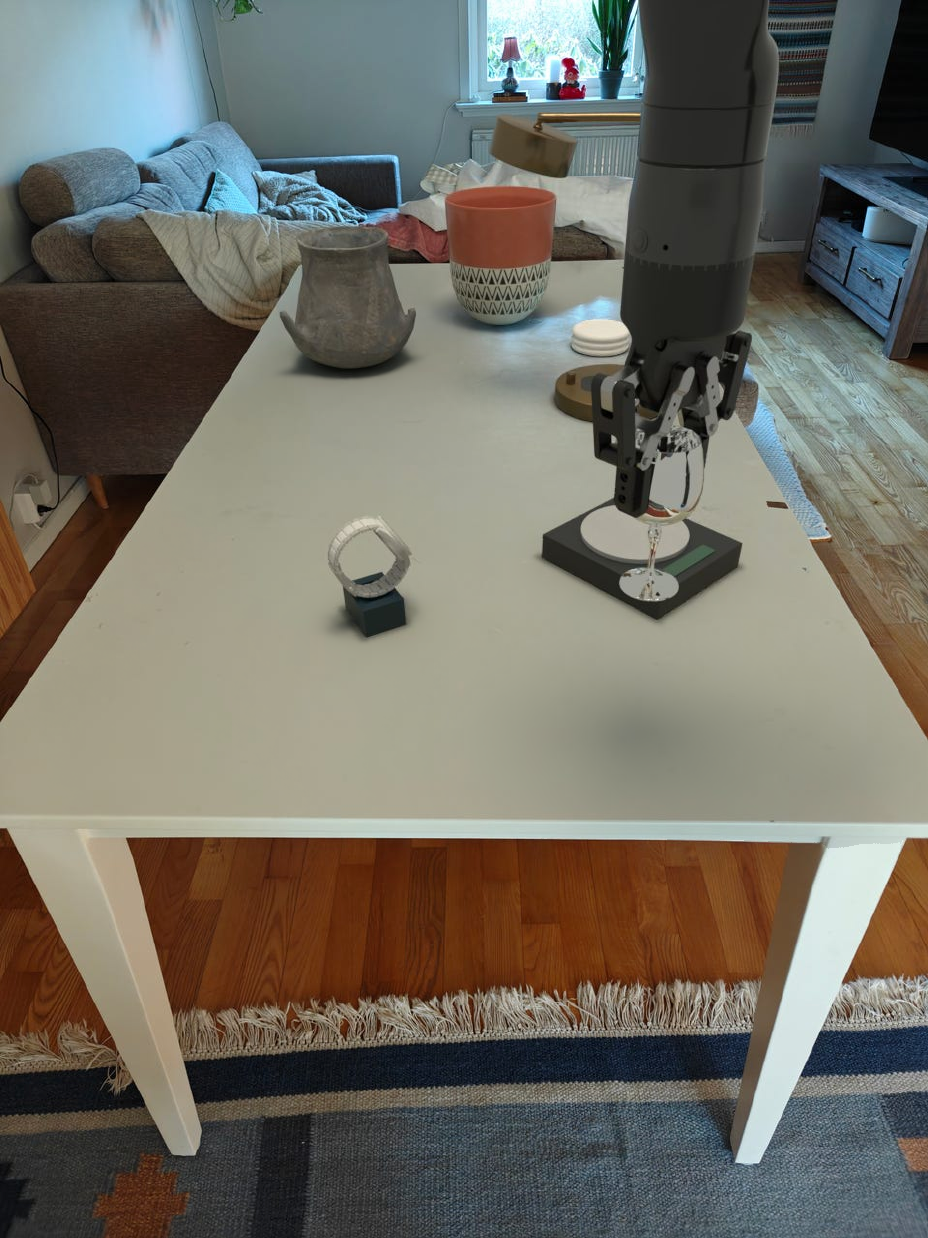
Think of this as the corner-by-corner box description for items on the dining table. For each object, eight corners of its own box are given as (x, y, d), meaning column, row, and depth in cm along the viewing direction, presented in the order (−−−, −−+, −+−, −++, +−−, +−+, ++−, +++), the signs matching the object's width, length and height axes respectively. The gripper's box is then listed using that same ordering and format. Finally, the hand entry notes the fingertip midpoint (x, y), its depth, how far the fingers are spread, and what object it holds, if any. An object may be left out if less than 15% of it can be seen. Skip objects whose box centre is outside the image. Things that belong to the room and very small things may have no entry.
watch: (423, 618, 86) (417, 523, 79) (349, 642, 83) (336, 546, 76) (400, 590, 90) (393, 498, 83) (329, 612, 87) (315, 519, 80)
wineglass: (604, 600, 63) (617, 452, 56) (616, 559, 68) (629, 417, 60) (684, 611, 62) (706, 461, 55) (690, 569, 66) (712, 424, 59)
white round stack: (614, 361, 143) (616, 340, 140) (561, 351, 147) (562, 331, 145) (637, 343, 149) (639, 323, 147) (586, 334, 154) (587, 314, 152)
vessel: (412, 332, 157) (405, 214, 145) (421, 376, 139) (414, 246, 127) (293, 339, 155) (276, 221, 143) (287, 385, 137) (267, 254, 125)
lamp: (495, 377, 138) (494, 105, 115) (664, 380, 135) (698, 102, 112) (484, 420, 124) (481, 121, 102) (672, 425, 121) (712, 119, 99)
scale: (738, 566, 92) (743, 538, 90) (657, 619, 85) (661, 590, 83) (623, 513, 102) (625, 486, 100) (541, 557, 95) (542, 529, 92)
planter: (428, 319, 163) (422, 196, 150) (506, 299, 172) (507, 181, 159) (492, 345, 150) (492, 213, 137) (573, 322, 159) (579, 196, 147)
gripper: (666, 280, 44) (636, 555, 54) (812, 231, 52) (762, 480, 62) (559, 256, 49) (550, 513, 59) (708, 214, 56) (677, 448, 66)
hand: (659, 495), depth 60 cm, fingers closed on wineglass, 5 cm apart
